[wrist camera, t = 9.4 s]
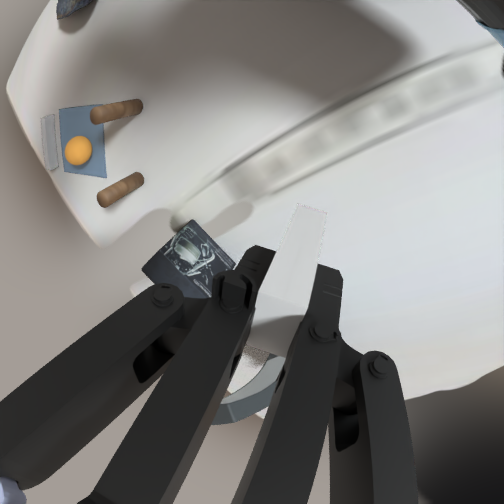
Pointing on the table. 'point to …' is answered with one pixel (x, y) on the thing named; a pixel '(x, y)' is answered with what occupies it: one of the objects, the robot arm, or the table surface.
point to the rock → (69, 7)
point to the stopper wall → (49, 142)
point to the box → (189, 262)
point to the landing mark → (81, 125)
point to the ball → (78, 150)
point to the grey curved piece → (251, 394)
